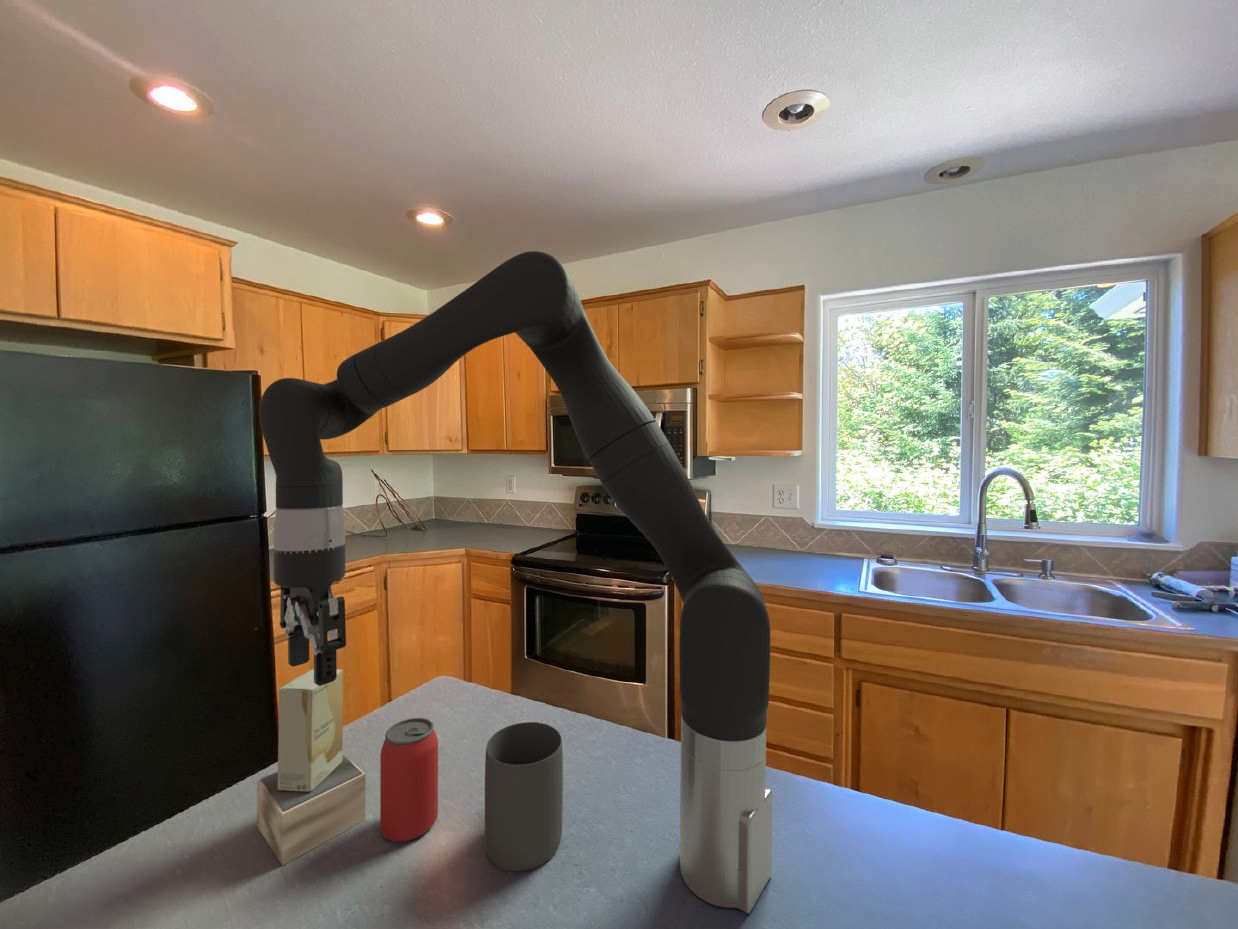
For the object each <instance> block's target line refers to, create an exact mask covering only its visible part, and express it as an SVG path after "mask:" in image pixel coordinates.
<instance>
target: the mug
mask: <svg viewBox="0 0 1238 929" xmlns="http://www.w3.org/2000/svg"><path fill="white" fill-rule="evenodd" d="M563 752H564V750H563V740H562V736H561V733H560V732H559V731H558V730H557V729H556V728H555V727H553V726H551V725H549V724H546V723H541V722H538V721H534V722H533V721H530V722H529V721H527V722H525V721H524V722H518V723H514V724H510V725H507V726H505V727H503V728H501V729H499V730H498V731H496V732H495V733H493V735H491V737H489V739H488V741H487V744H486V748H485V759H484V760H485V762H484V764H485V765H484V770H485V771H484V838H485V840H484V841H485V850H486V854H487V856H488V858H489V860H490V862H492V863H493V864H494V865H495V866H497V867H498V868H500V869H502V870H505V871H509V872H524V871H525V872H526V871H530V870H533V869H535V868H538V867H540V866H542V865H543V864H545V863H546V862H548V861H549V860H550V859H551V858H553V856H554V855H555V854H556V853H557V851H558V849H559V846H560V844H561V840H562V832H563V810H564V809H563V807H564V806H563V805H564V804H563V802H564V801H563V798H564V796H563V795H564V794H563V793H564V780H563V779H564V775H563V774H564V773H563V772H564V764H563V763H564V762H563V761H564V760H563V759H564V757H563V755H564V754H563Z"/></svg>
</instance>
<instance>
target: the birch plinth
mask: <svg viewBox="0 0 1238 929" xmlns="http://www.w3.org/2000/svg"><path fill="white" fill-rule="evenodd" d="M256 821H257V822H256V825H257V826H256V827H257V829H258V830H259V832H260V833H261V835H262V837H263V838H264V839H265V841H266V842H267V844H268V846H269V847H270V849H271V850H272V852H273V854H274V855H275V857H276V858H277V860H278V861H279V863H280V864H281V866H284V865H287V864H288V863H290V862H292V861H294V860H295V859H297V858H298V857H300V856H302V855H304V854H306V853H308V852H310V851H311V850H314V849H315V848H317V847H318V846H320V845H323V844H325V843H326V842H327V841H329V840H331V839H333V838H335V837H336V836H338V835H340V834H342V833H343V832H345V831H348V830H349V829H350V828H352V827H355V826H357V825H358V824H359V823H361V822H363V821H366V773H365V772H364V771H363V770H362V769H361V768H359V767H358V765H357V764H355V763H354V762H353V761H352V760H351V759H350V758H349V757H347V755H345V753H343V752H342V762H341V763H340V764H339V765H338V766H337V767H336V768H335V769H334V770H333V771H332V772H331V773H330V774H329V775H328V776H327V777H326V778H325V779H324V780H323V781H322V782H320V783H319V784H318V785H317V786H316V787H315V788H314V789H313V790H312V791H310V792H308V791H287V790H278V771H276V772H273V773H271V774H269V775H266V776H264V777H263V776H262V777H261V778H259V779H257V780H256Z"/></svg>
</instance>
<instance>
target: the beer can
mask: <svg viewBox="0 0 1238 929" xmlns="http://www.w3.org/2000/svg"><path fill="white" fill-rule="evenodd" d="M434 727H435V725H434V722H433V721H431V720H430V719H428V718H424V717H413V718H411V717H410V718H407V719H403V720H400V721H399V722H396V723H395V724H392V725H391V726H390V727H389V728H388V729H387V730H386V732H385V734H384V737H385V738H384V741H383V744H382V747H381V750H380V768H379V770H380V772H379V773H380V776H379V777H380V779H379V780H380V789H379V790H380V796H379V798H380V803H379V804H380V807H379V808H380V809H379V810H380V812H379V813H380V814H379V815H380V819H379V820H380V823H379V824H380V825H379V826H380V832H381V835H382V836H383V837H384V838H385V839H387V840H389V841H391V842H394V843H396V842H397V843H398V842H399V843H404V842H409V841H412V840H414V839H416V838H417V839H418V838H420V837H421V836H423V835H424V834H425V833H427V832H428V831H429V830H430V829H432V827H434V824H435V822H436V821H437V819H438V814H439V739H438V736H437V734H436V731H435V729H434Z"/></svg>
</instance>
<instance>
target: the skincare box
mask: <svg viewBox="0 0 1238 929" xmlns="http://www.w3.org/2000/svg"><path fill="white" fill-rule="evenodd" d="M343 700H344V669H339V668H337V677H336V679H335V680H334V681H333V682H330V683H327V684H324V685H321V686H318V685H316V684H315V683H314V668H312V669H310V670H309V671H307V672H305V673H304V674H302V675H299V676H298V677H296V678H294V679H293V680H292V681H290V682H288V683H287V684H285V685H284V686H281V687H280V688H279V690H278V733H277V734H278V736H277V737H278V740H277V742H278V743H277V745H278V746H277V748H278V749H277V754H278V755H277V772H278V790H287V791H308V792H310V791H312V790H313V789H314V788H315V787H316V786H317V785H318V784H319V783H320V782H322V781H323V780H324V779H325V778H326V777H327V776H328V775H329V774H330V773H331V772H332V771H333V770H334V769H335V768H336V767H337V766H338V765H339V764H340V763H341V762H342V753H343V728H344V726H343V725H344V724H343V723H344V718H343V717H344V716H343V710H344V707H343V706H344V704H343V702H344V701H343Z"/></svg>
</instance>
